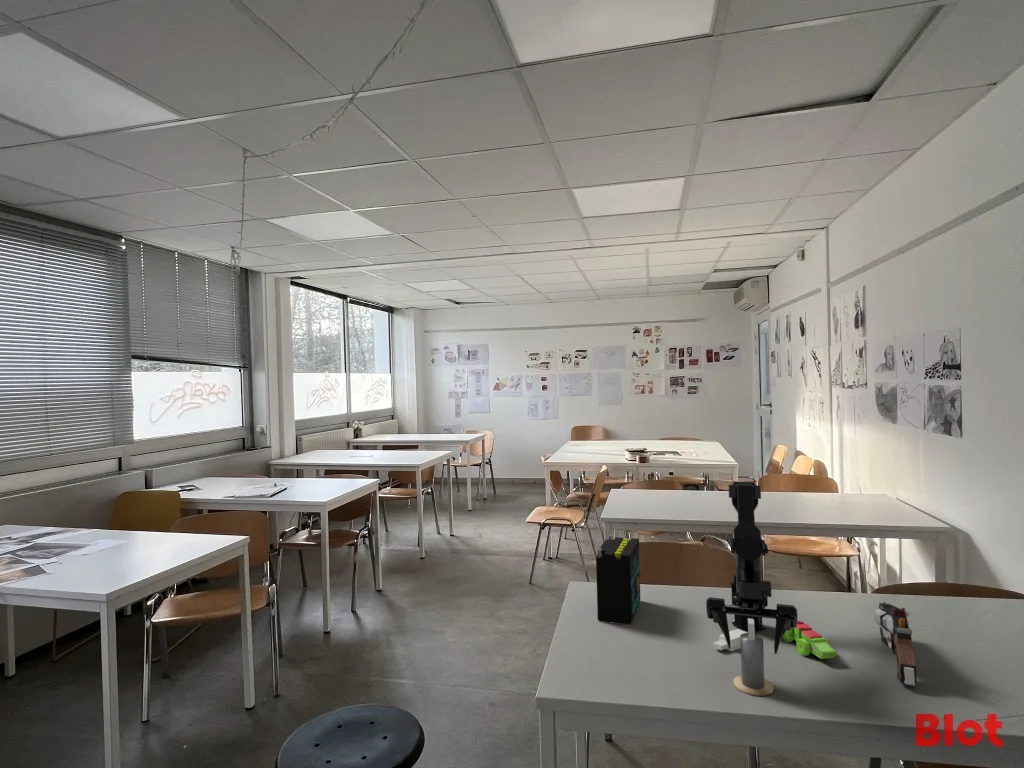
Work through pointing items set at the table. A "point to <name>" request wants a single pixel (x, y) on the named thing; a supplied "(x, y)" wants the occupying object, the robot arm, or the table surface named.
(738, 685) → the cork coaster
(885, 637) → the toy gun
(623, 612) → the battery
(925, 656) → the table surface
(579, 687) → the table surface
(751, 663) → the grey plug
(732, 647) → the small lying plug
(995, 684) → the table surface
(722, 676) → the table surface
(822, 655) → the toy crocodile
